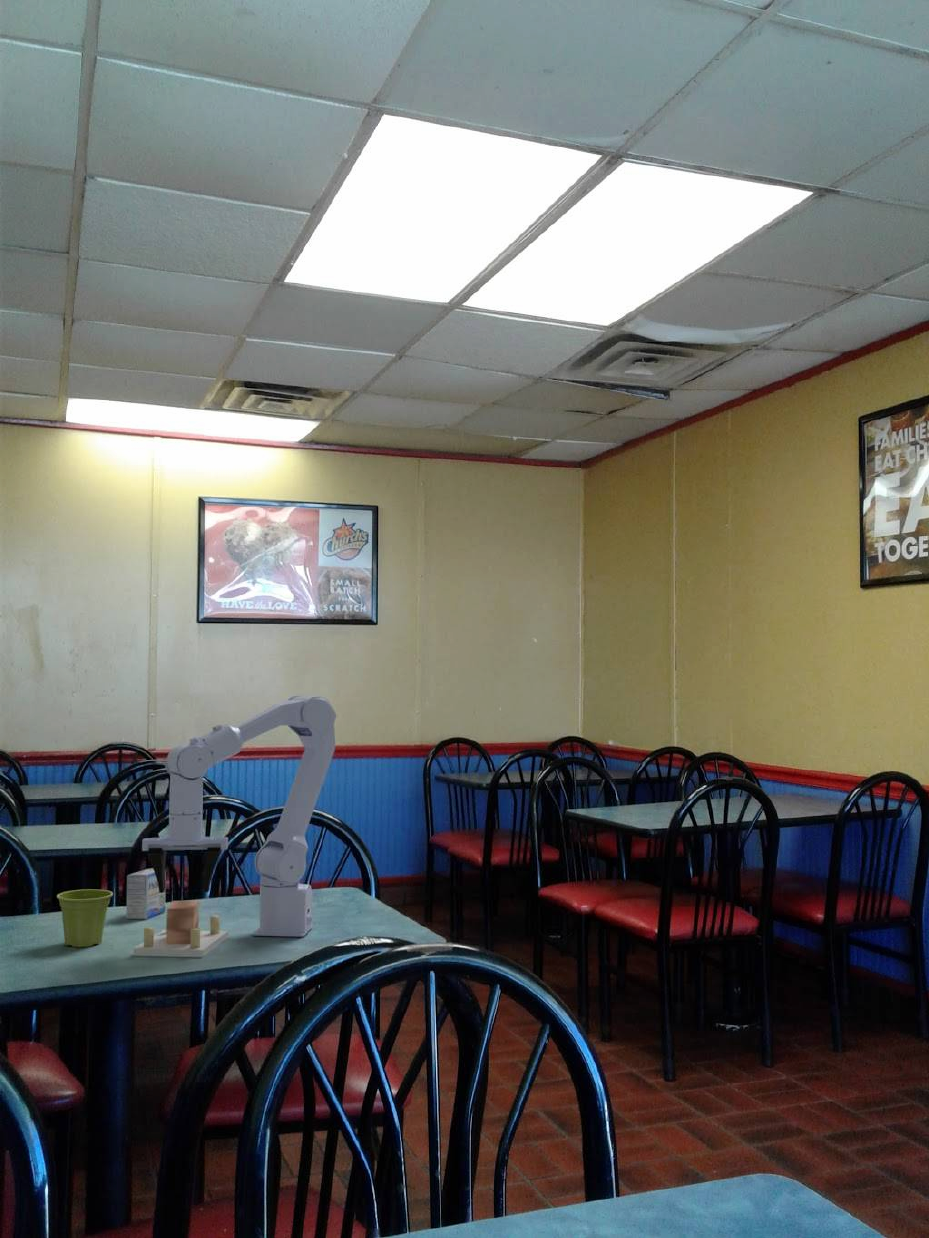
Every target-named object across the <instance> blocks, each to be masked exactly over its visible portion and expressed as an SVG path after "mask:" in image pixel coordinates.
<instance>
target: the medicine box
mask: <svg viewBox="0 0 929 1238" xmlns="http://www.w3.org/2000/svg"><path fill="white" fill-rule="evenodd" d="M166 872H167V870H166V869H165V889H166V885H167V884H166V882H167V881H166V879H167V878H166V877H167V876H166V875H167V873H166ZM165 912H166V890H165V891H164V892H163V893H159V887H158V882H157V878H156V875H155V872H154V869H153V867H152V868H146V869H142V870H139V871H137V872H133V873H130V874H128V875H127V876H126V919H128V920H130V919H131V920H144V921H146V920H149V919H151V918H154V917H156V916H158V915H160V914H163V913H165Z"/></svg>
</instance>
